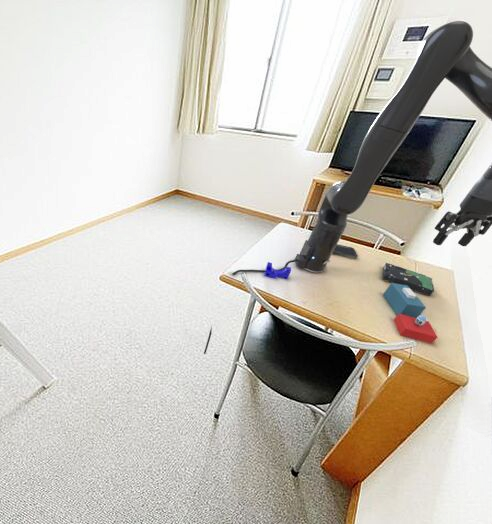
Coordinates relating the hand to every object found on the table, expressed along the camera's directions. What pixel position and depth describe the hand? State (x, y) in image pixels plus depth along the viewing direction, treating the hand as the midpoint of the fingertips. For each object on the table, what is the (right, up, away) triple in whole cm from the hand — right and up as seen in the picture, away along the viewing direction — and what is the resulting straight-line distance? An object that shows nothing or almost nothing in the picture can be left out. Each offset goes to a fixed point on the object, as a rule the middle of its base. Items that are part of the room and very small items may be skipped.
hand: (448, 244), depth 94 cm
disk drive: (+4, -13, +20) cm, 24 cm away
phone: (-13, -1, +35) cm, 37 cm away
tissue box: (-10, -21, +7) cm, 24 cm away
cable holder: (-46, -11, +17) cm, 51 cm away
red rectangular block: (-13, -27, -2) cm, 30 cm away
